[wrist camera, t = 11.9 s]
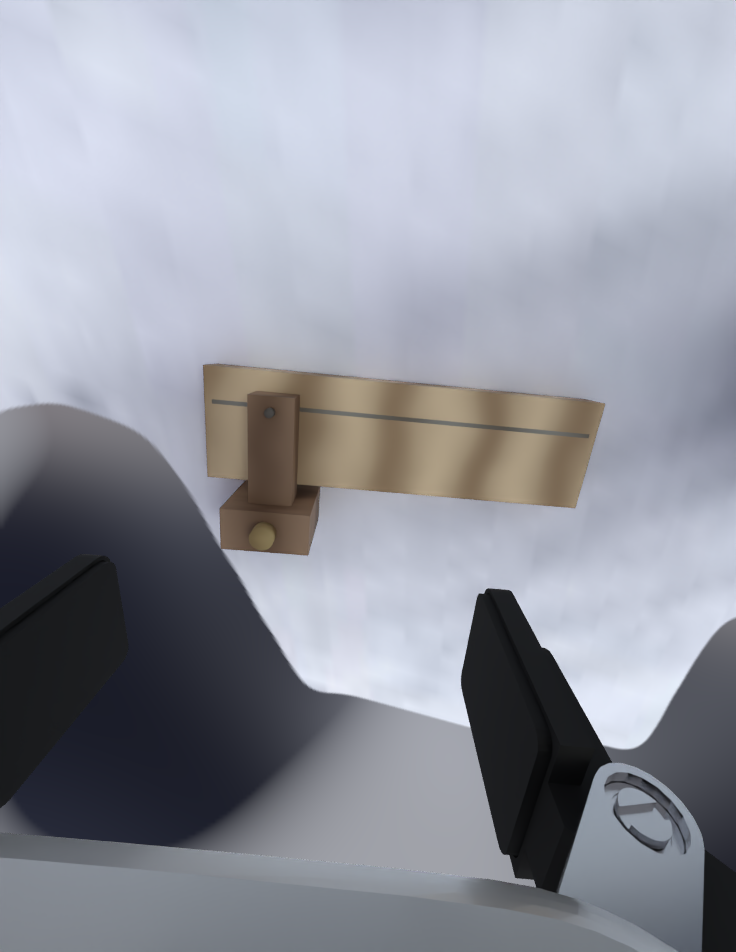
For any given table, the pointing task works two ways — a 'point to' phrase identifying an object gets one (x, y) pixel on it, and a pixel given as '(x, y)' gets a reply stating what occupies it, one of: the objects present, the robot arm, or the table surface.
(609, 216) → the table surface
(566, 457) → the board
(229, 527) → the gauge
